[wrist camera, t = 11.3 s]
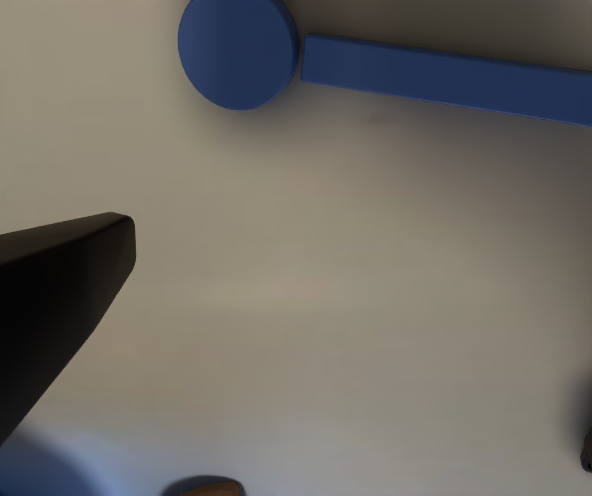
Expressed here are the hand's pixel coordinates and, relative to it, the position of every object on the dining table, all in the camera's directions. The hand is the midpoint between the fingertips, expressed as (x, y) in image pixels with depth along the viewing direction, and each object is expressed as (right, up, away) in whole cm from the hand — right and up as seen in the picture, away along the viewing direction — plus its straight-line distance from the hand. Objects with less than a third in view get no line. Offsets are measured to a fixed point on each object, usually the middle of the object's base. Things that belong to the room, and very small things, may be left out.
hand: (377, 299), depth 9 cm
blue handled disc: (+1, +7, +11) cm, 13 cm away
